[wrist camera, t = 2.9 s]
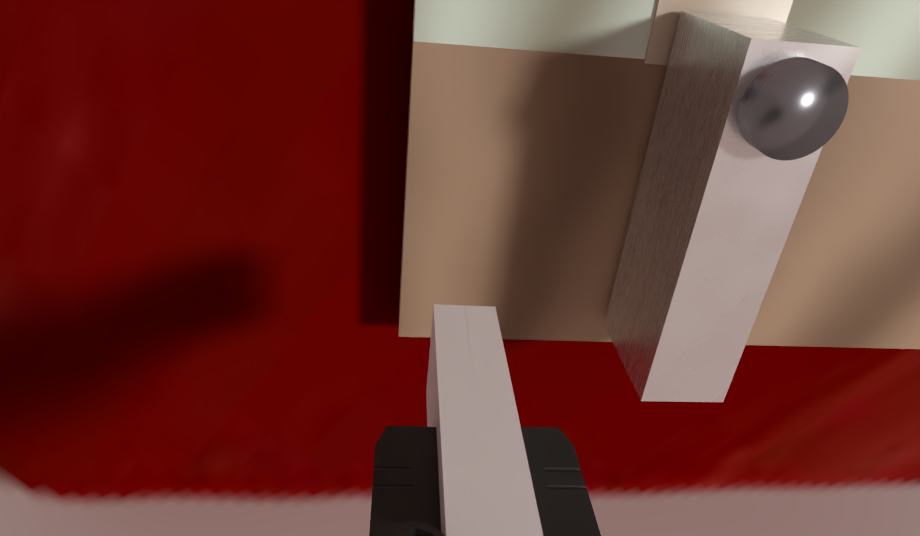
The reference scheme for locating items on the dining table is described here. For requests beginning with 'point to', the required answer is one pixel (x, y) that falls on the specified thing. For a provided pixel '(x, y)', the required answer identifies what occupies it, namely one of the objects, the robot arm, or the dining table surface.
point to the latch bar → (720, 195)
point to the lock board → (640, 168)
